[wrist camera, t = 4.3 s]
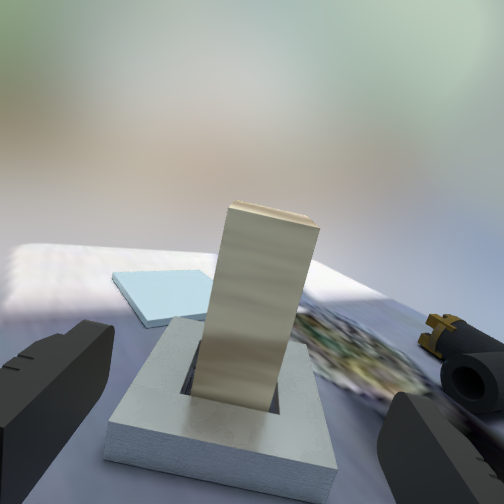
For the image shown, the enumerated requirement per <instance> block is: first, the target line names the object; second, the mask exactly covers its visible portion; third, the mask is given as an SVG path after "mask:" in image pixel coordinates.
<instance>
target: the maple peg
mask: <svg viewBox="0 0 504 504" xmlns="http://www.w3.org/2000/svg"><path fill="white" fill-rule="evenodd" d="M319 230H320V228H319V227H318V226H317V225H316V224H315V223H314V222H313V221H312V220H311V219H310V218H309V217H307V216H305V215H300V214H296V213H292V212H287V211H283V210H278V209H274V208H270V207H265V206H261V205H256V204H252V203H248V202H243V201H239V200H236V201H234V202H233V203H232V205H230V206H229V207H228V211H227V216H226V221H225V226H224V231H223V236H222V241H221V246H220V250H219V255H218V260H217V265H216V270H215V275H214V280H213V285H212V290H211V295H210V300H209V305H208V310H207V315H206V320H205V325H204V330H203V334H202V339H201V344H200V349H199V354H198V359H197V364H196V369H195V374H194V379H193V384H192V389H191V394H190V396H193V397H198V398H203V399H207V400H212V401H217V402H221V403H226V404H231V405H235V406H240V407H245V408H250V409H254V410H259V411H264V412H268V411H269V408H270V404H271V401H272V397H273V394H274V390H275V387H276V383H277V380H278V376H279V372H280V369H281V365H282V362H283V358H284V355H285V351H286V348H287V344H288V340H289V337H290V333H291V330H292V326H293V323H294V319H295V316H296V312H297V309H298V305H299V301H300V298H301V294H302V291H303V287H304V284H305V280H306V277H307V273H308V269H309V266H310V262H311V259H312V255H313V252H314V248H315V244H316V241H317V238H318V234H319Z"/></svg>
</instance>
